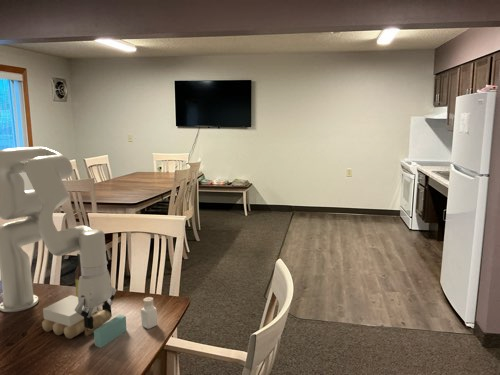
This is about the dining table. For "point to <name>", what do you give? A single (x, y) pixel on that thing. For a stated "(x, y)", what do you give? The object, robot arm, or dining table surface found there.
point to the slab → (64, 311)
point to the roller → (100, 318)
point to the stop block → (110, 330)
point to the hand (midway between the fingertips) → (98, 321)
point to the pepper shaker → (148, 313)
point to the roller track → (67, 328)
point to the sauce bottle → (78, 273)
